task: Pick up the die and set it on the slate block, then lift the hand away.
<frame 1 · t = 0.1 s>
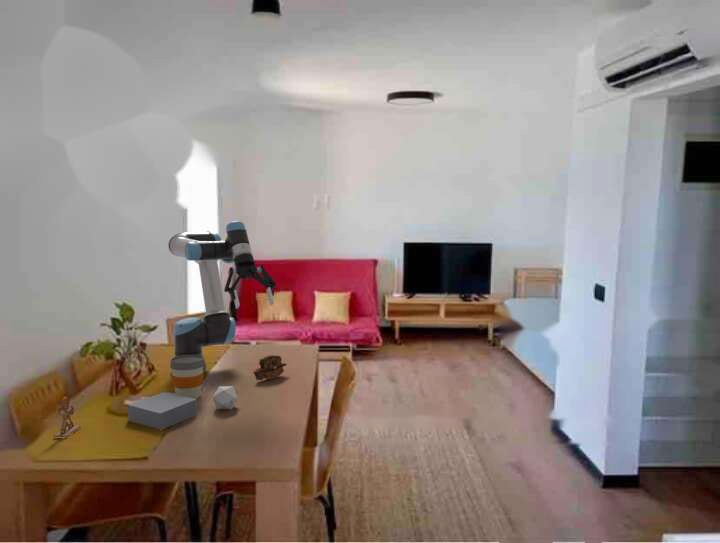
hand: (255, 305, 215), 36 cm above the table, tool tilted 35°, fingers open, 13 cm apart
slate block: (163, 418, 198), on the table
brown upright piece: (67, 433, 185), on the table
die: (225, 408, 208), on the table
wooden carving: (271, 379, 243), on the table
reusable coffee cup: (188, 397, 220), on the table
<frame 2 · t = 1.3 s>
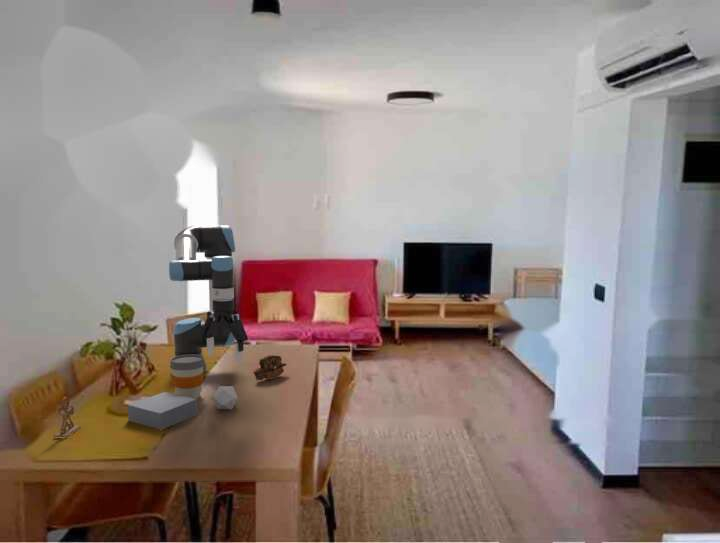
hand: (224, 357, 206), 19 cm above the table, tool pointing down, fingers open, 13 cm apart
nothing on the table moved.
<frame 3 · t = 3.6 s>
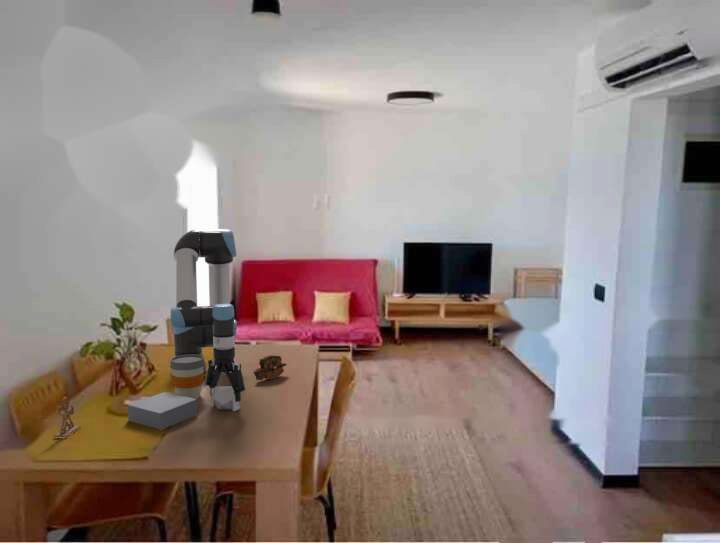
hand: (225, 407, 208), 0 cm above the table, tool pointing down, fingers closed on die, 9 cm apart
die: (225, 408, 208), on the table, touching gripper
everything else where it was.
when the fingers open (8 cm above the table, at t = 10.2 s): die drops 2 cm, resting on slate block.
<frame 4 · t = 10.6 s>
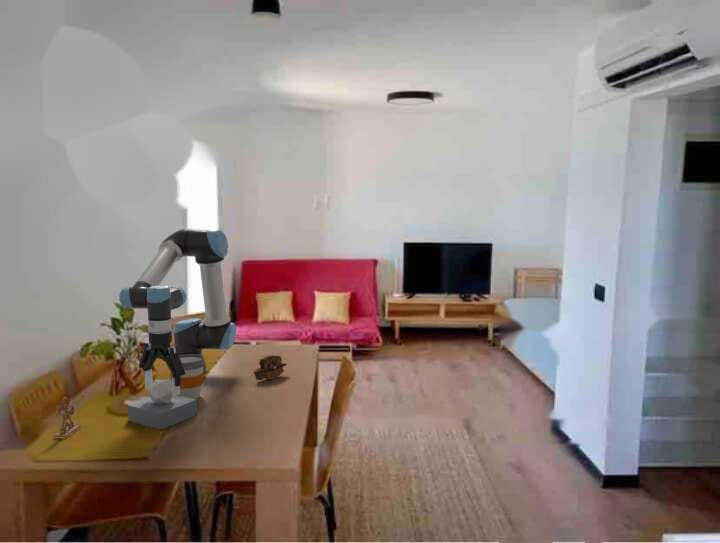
hand: (162, 391, 197), 9 cm above the table, tool pointing down, fingers open, 13 cm apart
slate block: (163, 419, 198), on the table, touching die
die: (162, 402, 198), point 5 cm above the table, touching slate block
everything else where it was.
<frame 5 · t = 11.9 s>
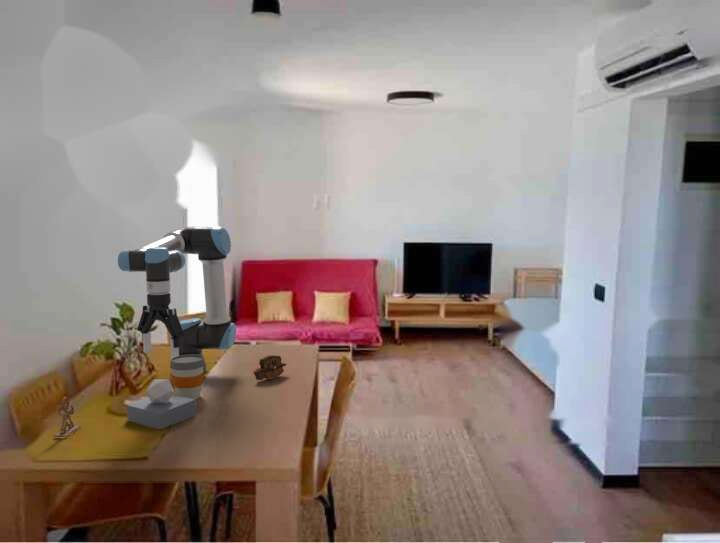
hand: (161, 354, 196), 22 cm above the table, tool pointing down, fingers open, 13 cm apart
nothing on the table moved.
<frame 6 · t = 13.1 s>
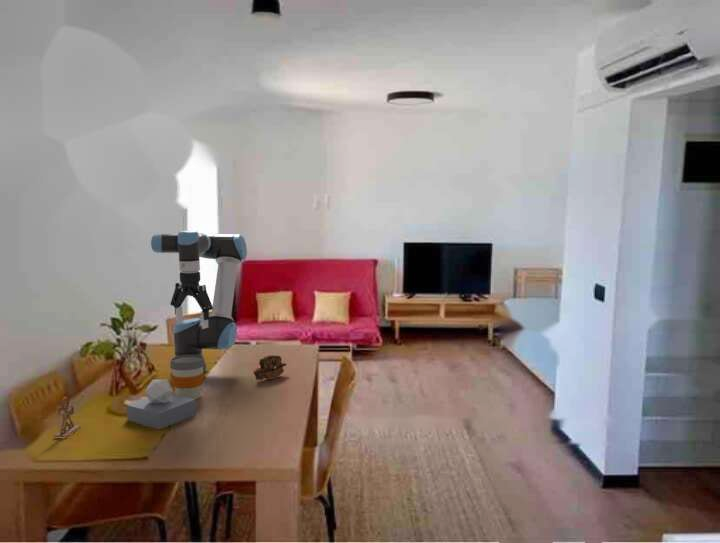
hand: (192, 325, 221), 27 cm above the table, tool pointing down, fingers open, 13 cm apart
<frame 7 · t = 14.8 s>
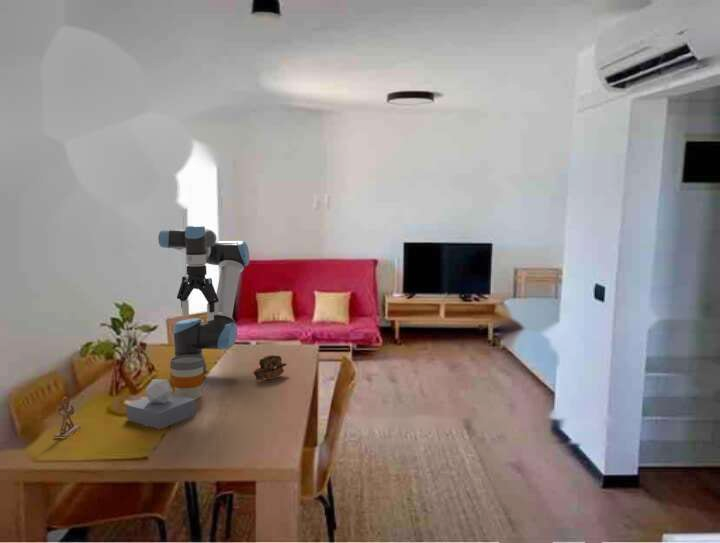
hand: (198, 318, 226), 29 cm above the table, tool pointing down, fingers open, 13 cm apart
slate block: (161, 418, 199), on the table
die: (159, 402, 198), point 5 cm above the table
everything else where it was.
at the end: die inside the target area on the slate block (0.7 cm from its centre), point 5.8 cm above the slate block's base; die tilted 0°; the gripper is holding nothing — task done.
